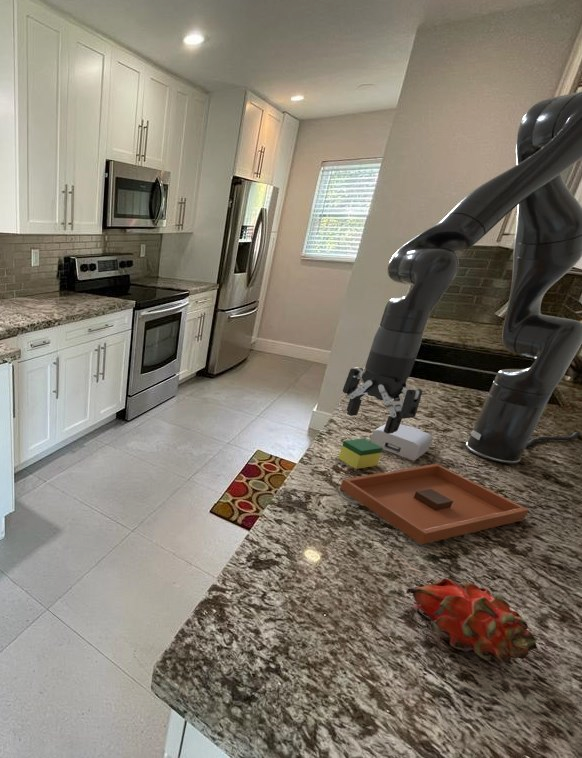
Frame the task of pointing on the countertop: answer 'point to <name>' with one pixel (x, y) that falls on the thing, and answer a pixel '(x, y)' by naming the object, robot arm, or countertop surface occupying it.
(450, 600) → the dragon fruit
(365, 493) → the pan
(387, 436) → the charger
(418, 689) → the countertop surface
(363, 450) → the sponge
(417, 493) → the block
